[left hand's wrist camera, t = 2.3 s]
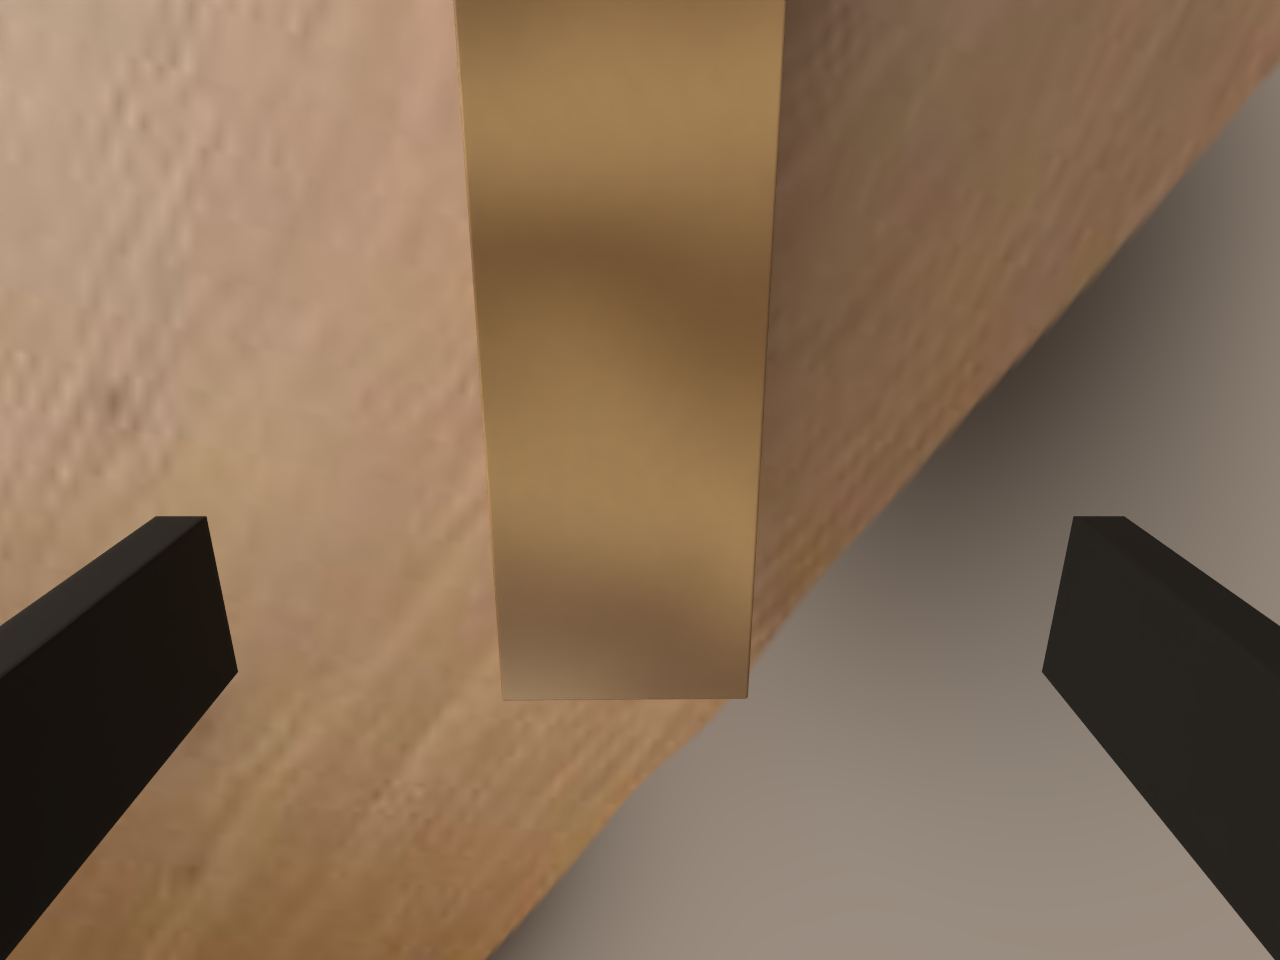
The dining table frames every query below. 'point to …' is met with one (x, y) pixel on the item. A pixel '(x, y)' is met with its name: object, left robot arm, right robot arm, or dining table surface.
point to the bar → (622, 331)
